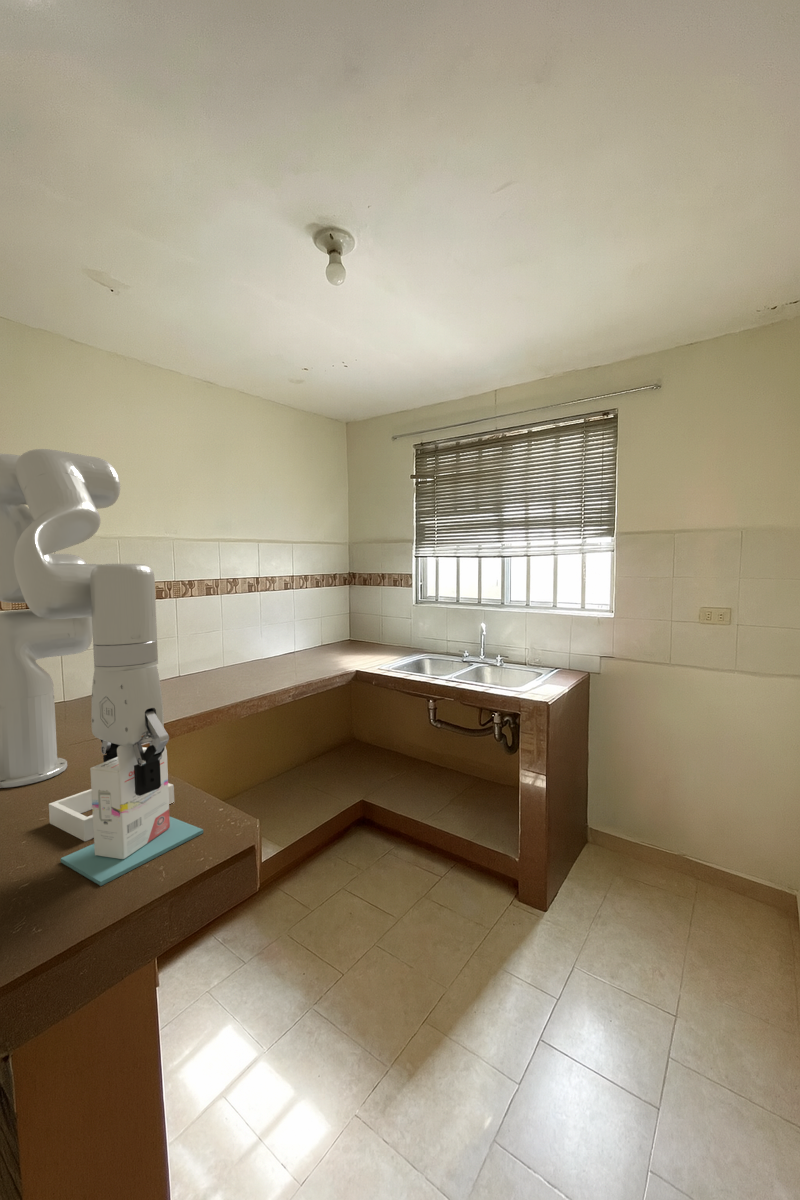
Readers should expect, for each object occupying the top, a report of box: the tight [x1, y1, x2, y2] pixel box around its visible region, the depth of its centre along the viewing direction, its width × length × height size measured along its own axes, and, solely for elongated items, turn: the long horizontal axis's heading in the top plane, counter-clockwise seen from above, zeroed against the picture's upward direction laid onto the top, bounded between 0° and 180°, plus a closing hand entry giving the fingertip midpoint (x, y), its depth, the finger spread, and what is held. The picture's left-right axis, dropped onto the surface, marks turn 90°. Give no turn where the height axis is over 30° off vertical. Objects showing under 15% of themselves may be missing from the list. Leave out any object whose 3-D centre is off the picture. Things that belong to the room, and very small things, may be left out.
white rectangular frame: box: [48, 782, 175, 842], centre depth 77 cm, size 11×14×3 cm
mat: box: [60, 815, 204, 887], centre depth 66 cm, size 10×14×1 cm
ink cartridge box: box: [89, 735, 170, 859], centre depth 66 cm, size 9×5×15 cm, turn 164°
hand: (132, 784), depth 66 cm, fingers open, 6 cm apart
